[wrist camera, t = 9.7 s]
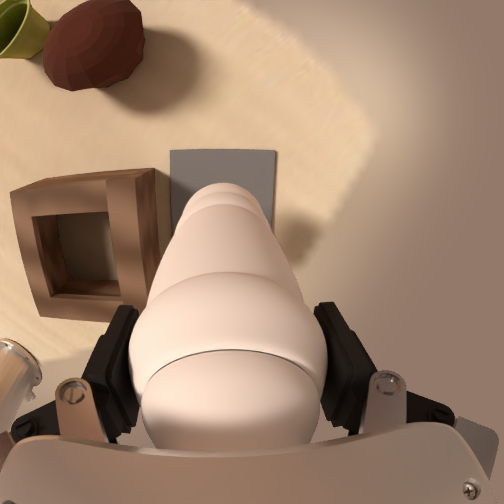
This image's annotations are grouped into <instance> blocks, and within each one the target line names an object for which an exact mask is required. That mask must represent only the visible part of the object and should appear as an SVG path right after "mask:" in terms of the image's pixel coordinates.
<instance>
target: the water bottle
mask: <svg viewBox="0 0 504 504" xmlns="http://www.w3.org/2000/svg"><path fill="white" fill-rule="evenodd" d="M327 367H328V353H327V346H326V341H325V337H324V334H323V331H322V329H321V327H320V325H319V323H318V321H317V319H316V317H315V316H314V314H313V313H312V311H311V310H310V309H309V307H308V306H307V305H306V304H305V303H304V300H303V296H302V293H301V291H300V288H299V285H298V283H297V280H296V278H295V275H294V273H293V271H292V269H291V266H290V264H289V262H288V260H287V258H286V256H285V254H284V252H283V250H282V248H281V247H280V245H279V243H278V241H277V240H276V238H275V237H274V235H273V234H272V231H271V228H270V225H269V223H268V221H267V219H266V217H265V215H264V214H263V211H262V209H261V206H260V205H259V203H258V201H257V200H256V198H255V197H254V196H253V195H252V194H251V193H250V192H249V191H247V190H246V189H244V188H242V187H240V186H238V185H235V184H231V183H216V184H211V185H208V186H206V187H204V188H202V189H200V190H199V191H198V192H196V193H195V194H194V195H193V196H192V197H191V198H190V200H189V201H188V203H187V204H186V206H185V208H184V211H183V214H182V216H181V218H180V220H179V222H178V224H177V227H176V230H175V233H174V236H173V238H172V239H171V241H170V243H169V245H168V247H167V249H166V251H165V253H164V255H163V258H162V260H161V262H160V265H159V267H158V270H157V272H156V275H155V278H154V280H153V283H152V286H151V290H150V293H149V297H148V301H147V305H146V308H145V309H144V311H143V312H142V313H141V315H140V317H139V318H138V320H137V322H136V324H135V326H134V329H133V332H132V334H131V338H130V342H129V348H128V368H129V374H130V379H131V383H132V386H133V389H134V392H135V395H136V398H137V400H138V403H139V405H140V407H141V412H142V418H143V423H144V426H145V428H146V431H147V433H148V435H149V437H150V438H151V440H152V442H153V443H154V445H155V447H156V449H166V450H183V451H240V450H257V449H269V448H279V447H288V446H296V445H303V444H309V443H310V441H311V438H312V436H313V434H314V432H315V429H316V427H317V424H318V420H319V413H320V400H321V397H322V393H323V389H324V384H325V380H326V375H327Z"/></svg>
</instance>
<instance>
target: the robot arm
mask: <svg viewBox="0 0 504 504" xmlns="http://www.w3.org/2000/svg"><path fill="white" fill-rule="evenodd" d="M313 314H314V316H315V317H316V319H317V321H318V323H319V325H320V327H321V329H322V331H323V334H324V337H325V341H326V346H327V353H328V367H327V375H326V380H325V384H324V389H323V393H322V397H321V400H320V402H321V405H322V408H323V410H324V413H325V417H326V419H327V421H331V422H332V425H333V427H338V426H343V428H345V429H347V430H346V435H345V437H343V438H338V439H333V440H328V441H323V442H316V443H310V444H303V445H296V446H288V447H279V448H269V449H257V450H240V451H183V450H166V449H154V448H143V447H135V446H128V445H120V442H119V440H118V436H120V435H121V433H129V434H130V432H131V427H135V426H136V422H137V417H138V412H139V407H140V405H139V403H138V400H137V398H136V395H135V392H134V389H133V386H132V383H131V379H130V374H129V368H128V348H129V342H130V338H131V334H132V332H133V329H134V326H135V324H136V322H137V320H138V318H139V317H140V316H139V311H138V309H134V307H133V305H119V306H118V308H117V310H116V312H115V314H114V316H113V318H112V320H111V322H110V324H109V327H108V329H107V331H106V333H105V335H101V336H100V338H99V339H98V342H97V344H96V346H95V348H94V350H93V352H92V355H91V357H90V359H89V361H88V363H87V366H86V368H85V370H84V373H83V375H82V377H81V378H70V379H67V380H65V381H63V382H62V383H60V385H59V386H58V387H57V389H56V392H55V400H54V401H52V402H50V403H48V404H46V405H44V406H42V407H40V408H38V409H36V410H34V411H31V412H30V413H27V414H25V415H23V416H21V417H19V418H18V419H16V421H15V422H14V423H13V425H12V427H11V424H12V422H13V420H14V418H15V415H16V413H17V411H18V409H19V407H20V405H21V403H22V401H23V399H24V400H25V401H30V399H35V395H34V393H33V392H32V388H33V387H34V386H37V385H39V384H40V382H41V380H42V373H41V370H40V368H39V366H38V364H37V363H36V361H35V360H34V358H33V357H32V356H31V355H30V354H29V353H28V352H27V351H26V350H25V349H24V348H23V347H21V346H20V345H19V344H17V343H15V342H14V341H11V340H9V339H0V504H499V501H498V499H497V497H496V495H495V492H494V490H493V488H492V486H491V484H490V482H489V480H490V477H491V473H492V469H493V466H494V462H495V457H496V454H497V449H498V444H499V438H498V435H497V434H496V432H495V431H494V430H492V429H490V428H488V427H485V426H482V425H479V424H477V423H475V422H472V421H470V420H467V419H465V418H463V417H460V416H459V417H458V418H455V416H454V413H453V412H452V410H451V409H450V408H449V407H447V406H446V405H444V404H441V403H438V402H436V401H433V400H430V399H428V398H425V397H422V396H419V395H417V394H414V393H411V392H409V391H406V383H405V381H404V379H403V378H402V377H401V376H400V375H399V374H397V373H395V372H392V371H389V370H382V371H377V369H376V367H375V365H374V364H373V362H372V360H371V359H370V357H369V355H368V353H367V352H366V350H365V348H364V347H363V345H362V343H361V342H360V340H359V338H358V337H357V335H356V333H355V332H354V331H352V330H350V328H349V327H348V325H347V323H346V322H345V320H344V318H343V317H342V315H341V313H340V312H339V310H338V308H337V307H336V305H335V303H334V302H322V303H319V305H318V306H316V307H315V309H314V313H313ZM10 427H11V432H9V433H8V431H9V429H10Z"/></svg>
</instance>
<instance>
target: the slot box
mask: <svg viewBox="0 0 504 504" xmlns="http://www.w3.org/2000/svg"><path fill="white" fill-rule="evenodd" d="M10 198H11V205H12V212H13V218H14V224H15V229H16V234H17V239H18V243H19V248H20V252H21V256H22V260H23V264H24V268H25V271H26V275H27V278H28V282H29V285H30V288H31V292H32V295H33V298H34V301H35V304H36V307H37V309H38V312H39V315H40V316H41V317H50V318H60V319H70V320H82V321H95V322H109V323H110V322H111V320H112V318H113V316H114V314H115V312H116V310H117V308H118V306H119V305H133V307H134V309H138V311H139V316H140V315H141V313H142V312H143V311H144V309H145V308H146V305H147V301H148V297H149V293H150V290H151V286H152V283H153V280H154V278H155V275H156V272H157V270H158V267H159V265H160V254H159V243H158V231H157V217H156V201H155V178H154V168H143V169H128V170H115V171H104V172H94V173H85V174H76V175H68V176H60V177H53V178H46V179H43V180H40V181H37V182H34V183H32V184H29V185H27V186H24V187H21V188H19V189H16V190H14V191H12V192H10ZM104 211H108V214H109V222H110V231H111V238H112V245H113V252H114V258H115V264H116V270H117V276H118V281H116V280H74V279H68V275H67V271H66V267H65V262H64V258H63V253H62V248H61V243H60V238H59V232H58V226H57V220H56V214H70V213H86V212H104Z"/></svg>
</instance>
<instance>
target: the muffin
mask: <svg viewBox="0 0 504 504" xmlns="http://www.w3.org/2000/svg"><path fill="white" fill-rule="evenodd" d="M144 43H145V37H144V34H143V25H142V16H141V12H140V10H139V9H138V8H137V7H136V6H135V5H134V4H133V3H132V2H131V1H130V0H89V1H86V2H84V3H82V4H80V5H78V6H77V7H75V8H73V9H72V10H70V11H69V12H67V13H66V14H64V15H63V16H62V17H61V18H60V19H59V21H58V22H57V23H56V24H55V25H54V26H53V28H52V29H51V30H50V32H49V35H48V37H47V40H46V42H45V45H44V48H43V60H44V68H45V73H46V74H47V75H48V77H49V78H50V80H51V81H52V83H53V84H54V85H55V86H57V87H60V88H63V89H66V90H69V91H77V90H82V89H88V88H103V87H109V86H111V85H113V84H114V83H116V82H118V81H121V80H124V79H127V78H129V76H130V75H131V73H132V72H133V70H134V69H135V68H136V66H137V65H138V64H139V63H140V62H141V61H142V60H143V47H144Z"/></svg>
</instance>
